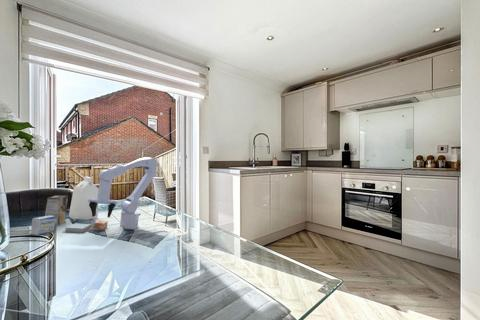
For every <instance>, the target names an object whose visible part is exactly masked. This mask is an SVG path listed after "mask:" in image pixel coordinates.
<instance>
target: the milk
mask: <svg viewBox="0 0 480 320" xmlns="http://www.w3.org/2000/svg"><path fill="white" fill-rule="evenodd" d="M98 190H99V187H97V186H96V184H94V183H93V182H92V177H91V176H84V177H83V180H82V181H80V182H79V183H77V185H75V186H74V187H73V190H72V195H71V202H70V208H69V214H68V218H70V219H73V220H86V221H87V220H93V219H95V220H96V219H98V218H99V217H98V215H99V203H98V204H97V208H96V215H95V216H94V217H93V216H92V211H91V208H90V206H89V204H90V203H88V199H97V198H98Z"/></svg>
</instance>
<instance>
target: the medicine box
mask: <svg viewBox="0 0 480 320" xmlns="http://www.w3.org/2000/svg"><path fill="white" fill-rule="evenodd" d="M55 227H56V226H55V216H52V215H48V216H45V215H44V216H38V217H33V218H32V220H31V227H30V228H31V229H30V235H35V236H39V235H43V234H47V233H51V232H54V231H55Z"/></svg>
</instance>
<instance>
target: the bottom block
mask: <svg viewBox="0 0 480 320" xmlns="http://www.w3.org/2000/svg"><path fill="white" fill-rule="evenodd" d="M91 230H93V227H90V228H89V229H88V230H86V231H84V232H66V231H65V230H64V231H62V233H66V234H70V233H71V234H86V233H87V232H88V231H91Z"/></svg>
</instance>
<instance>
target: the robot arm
mask: <svg viewBox="0 0 480 320" xmlns="http://www.w3.org/2000/svg"><path fill="white" fill-rule="evenodd" d="M158 165H159V164H158V161H157V159H156V158H155V157H147V156H144V157H141V158H138V159H135V160H133V161H131V162H129V163H127V164H124V165H123V164H122V163H120V164H119V163H118V164H116V165H115V166H113V167H108V168H107V169H103V170H101V171H99V173H98V178H99V183H98V189H99V190H98V198H97V199H88V203H90V204H89V206H90V208H91V211H92V216H93V217H94V216H95V215H96V208H97V204H98V205H99V204H108V205H107V218H111V215H112V213H113V211H114V208H115V207H116V206H117V205H118V203H119V200H115V199H110V197H111V195H110V194H111V191H112V190H111V189H112V188H111V187H112V181H113V180H114V179H115V178H117V177H119V176H122V175H125V174H126V173H127V171H129V170H132V169H135V168H138V167H142V168H143V170H144V172H145V174H143V176H142V178H141V180H140V181H139V182H138V184H137V185H136V186H135V188H134V190H132V193H131V194H130V195H128V196H126V198H125V199H124V200H122V201H121V203H120V205H119V206H120V209H121V213H120V222H119V226H120V227H121V228H122V229H123V230H136V228H137V227H138V226H139V218H140V217H139V216H140V214H139V213H138V212H137V210H138V206H139V204H140V198H141V197H142V195H143V194H144V192H145V191H146V189H147V188H148V187H149V185H150V183H151V182H152V180H153V179H154V177H155V175H156V172H157V167H158Z"/></svg>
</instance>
